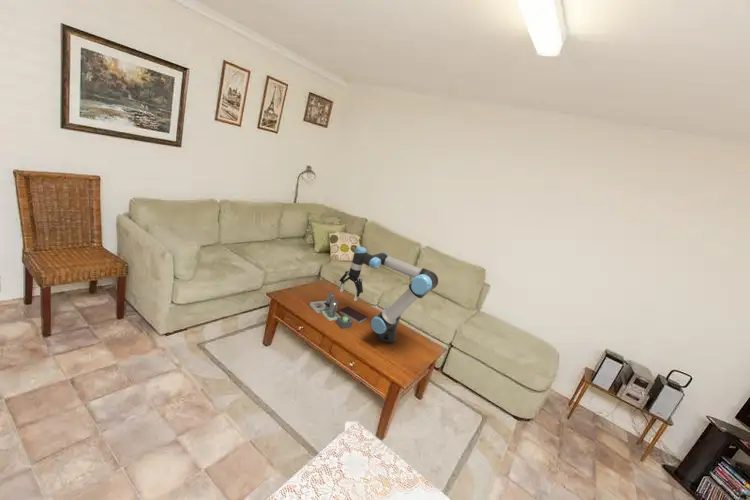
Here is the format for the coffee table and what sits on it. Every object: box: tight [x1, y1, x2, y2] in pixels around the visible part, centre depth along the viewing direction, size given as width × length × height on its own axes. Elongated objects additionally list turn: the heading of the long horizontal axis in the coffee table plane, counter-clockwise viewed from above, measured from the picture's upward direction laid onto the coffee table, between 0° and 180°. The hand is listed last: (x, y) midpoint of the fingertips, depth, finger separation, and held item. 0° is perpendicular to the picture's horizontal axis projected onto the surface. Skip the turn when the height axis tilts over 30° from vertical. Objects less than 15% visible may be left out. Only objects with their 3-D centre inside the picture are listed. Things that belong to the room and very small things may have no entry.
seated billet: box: [325, 292, 336, 307], centre depth 269 cm, size 5×5×12 cm
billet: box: [328, 299, 339, 318], centre depth 256 cm, size 5×5×12 cm
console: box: [335, 316, 353, 330], centre depth 250 cm, size 8×8×5 cm
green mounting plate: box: [321, 310, 341, 322], centre depth 258 cm, size 11×10×2 cm
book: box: [338, 306, 369, 324], centre depth 268 cm, size 12×19×3 cm, turn 60°
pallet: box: [309, 300, 339, 314], centre depth 267 cm, size 12×18×3 cm, turn 128°
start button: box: [342, 315, 348, 322], centre depth 249 cm, size 4×4×5 cm
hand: (348, 295), depth 245 cm, fingers open, 13 cm apart
